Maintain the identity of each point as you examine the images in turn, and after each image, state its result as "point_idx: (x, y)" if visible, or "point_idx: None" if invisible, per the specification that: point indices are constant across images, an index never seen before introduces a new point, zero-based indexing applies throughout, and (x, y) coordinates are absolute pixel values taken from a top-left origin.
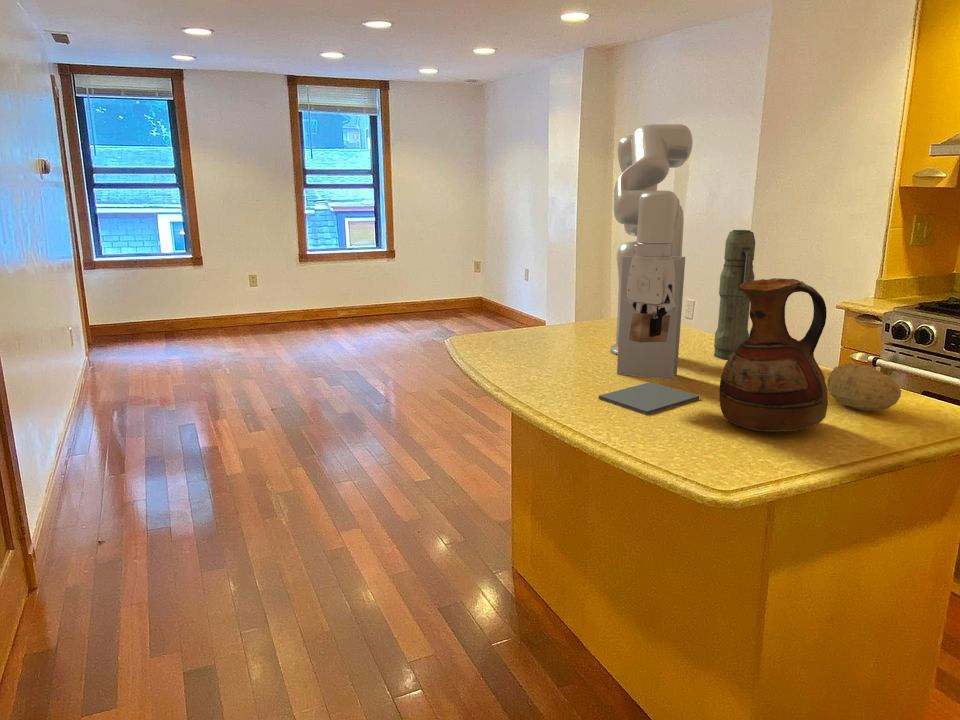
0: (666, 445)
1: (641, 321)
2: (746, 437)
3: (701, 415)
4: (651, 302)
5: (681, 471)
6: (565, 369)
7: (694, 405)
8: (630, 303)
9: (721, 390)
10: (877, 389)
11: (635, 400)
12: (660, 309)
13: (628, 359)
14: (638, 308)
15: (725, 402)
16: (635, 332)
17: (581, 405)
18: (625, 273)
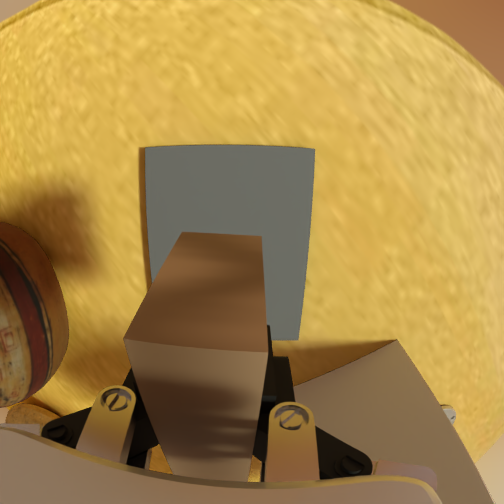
0: (41, 67)
1: (147, 300)
2: (2, 212)
3: (88, 246)
4: (40, 454)
5: (2, 37)
6: (481, 277)
7: (136, 290)
8: (397, 464)
9: (5, 251)
10: (10, 416)
11: (220, 191)
12: (65, 439)
13: (388, 373)
14: (288, 447)
15: (4, 234)
16: (211, 256)
17: (303, 77)
18: None
